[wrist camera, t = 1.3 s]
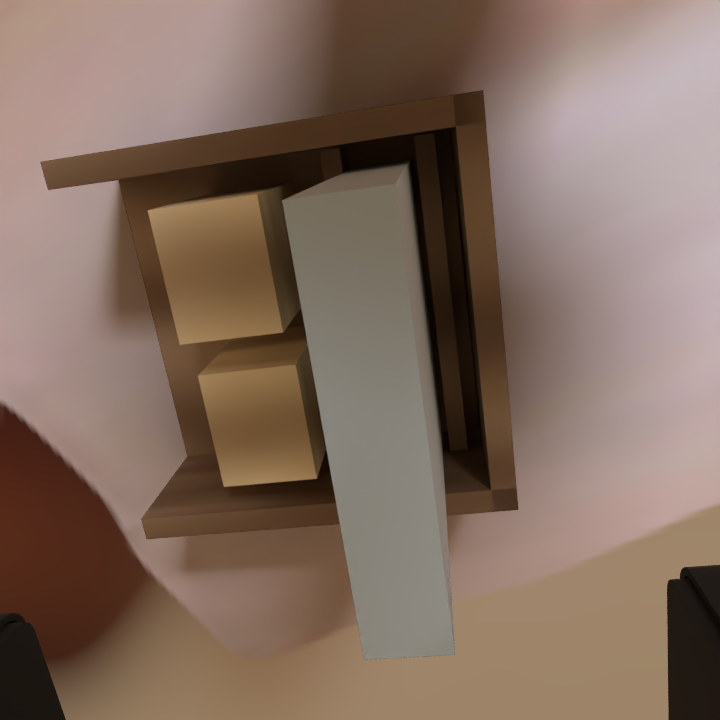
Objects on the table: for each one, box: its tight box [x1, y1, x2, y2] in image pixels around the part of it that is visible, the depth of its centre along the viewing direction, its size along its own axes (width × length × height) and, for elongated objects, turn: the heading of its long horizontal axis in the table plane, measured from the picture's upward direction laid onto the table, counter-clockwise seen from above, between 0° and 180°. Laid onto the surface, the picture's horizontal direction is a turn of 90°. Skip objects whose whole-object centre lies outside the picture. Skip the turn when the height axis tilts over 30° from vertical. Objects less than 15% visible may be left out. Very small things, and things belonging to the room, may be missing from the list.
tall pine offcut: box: [148, 181, 301, 345], centre depth 27 cm, size 5×4×7 cm
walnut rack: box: [40, 90, 518, 539], centre depth 29 cm, size 16×16×7 cm
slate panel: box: [282, 159, 455, 660], centre depth 23 cm, size 12×2×16 cm, turn 8°
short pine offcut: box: [198, 326, 326, 487], centre depth 30 cm, size 5×4×6 cm
